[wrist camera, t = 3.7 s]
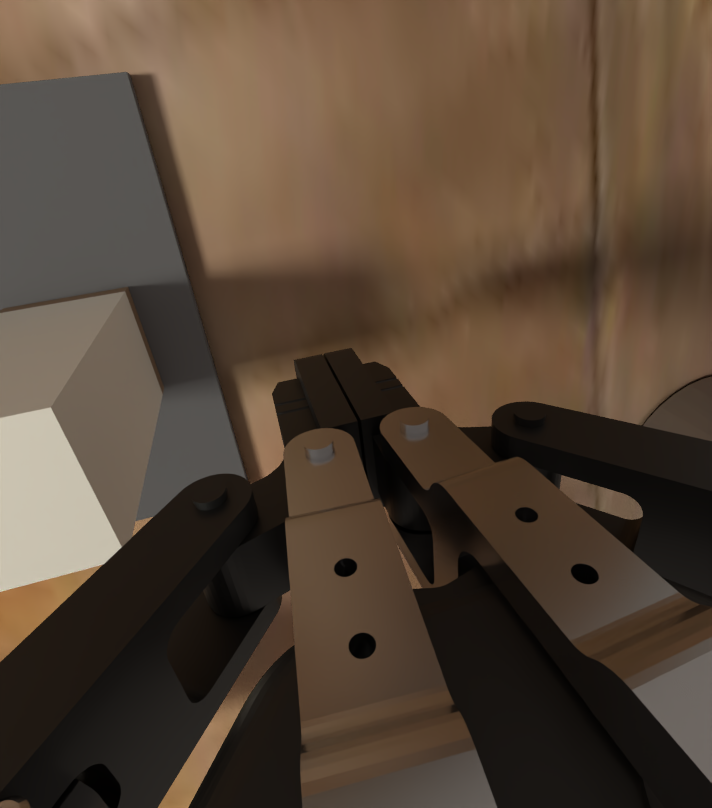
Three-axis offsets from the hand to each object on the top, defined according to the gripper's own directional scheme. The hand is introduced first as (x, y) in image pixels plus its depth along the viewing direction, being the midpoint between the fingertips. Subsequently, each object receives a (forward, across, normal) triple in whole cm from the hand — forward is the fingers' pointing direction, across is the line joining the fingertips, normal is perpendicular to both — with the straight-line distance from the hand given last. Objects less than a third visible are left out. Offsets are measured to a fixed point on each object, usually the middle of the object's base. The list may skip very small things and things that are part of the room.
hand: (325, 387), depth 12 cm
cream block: (+7, +7, 0) cm, 10 cm away
